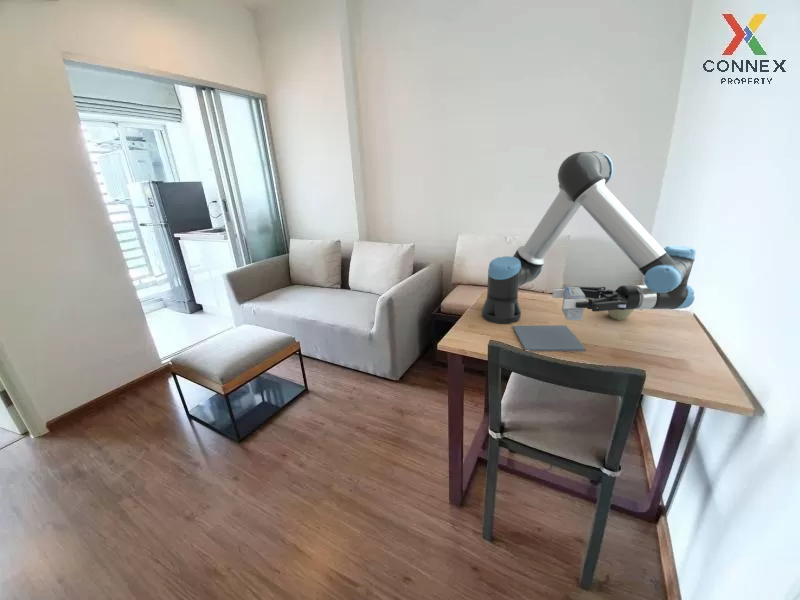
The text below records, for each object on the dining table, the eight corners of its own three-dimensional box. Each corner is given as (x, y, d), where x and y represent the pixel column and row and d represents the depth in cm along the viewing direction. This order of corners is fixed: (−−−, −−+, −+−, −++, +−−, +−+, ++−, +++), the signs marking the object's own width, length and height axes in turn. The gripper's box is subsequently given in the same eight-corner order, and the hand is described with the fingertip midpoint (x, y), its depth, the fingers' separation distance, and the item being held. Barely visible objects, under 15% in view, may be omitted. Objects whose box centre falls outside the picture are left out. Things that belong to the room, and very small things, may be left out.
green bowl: (600, 310, 134) (604, 294, 131) (629, 313, 130) (633, 296, 127) (604, 321, 125) (608, 303, 122) (635, 324, 121) (640, 306, 119)
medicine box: (582, 321, 102) (586, 295, 99) (566, 320, 104) (570, 294, 100) (575, 311, 110) (579, 286, 106) (561, 310, 111) (564, 286, 107)
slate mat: (525, 351, 108) (525, 349, 108) (513, 327, 124) (513, 325, 123) (585, 351, 106) (586, 349, 106) (565, 327, 122) (565, 325, 122)
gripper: (652, 322, 94) (569, 323, 96) (614, 296, 114) (546, 297, 116) (658, 298, 91) (573, 300, 94) (618, 275, 111) (548, 277, 113)
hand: (558, 298), depth 105 cm, fingers closed on medicine box, 8 cm apart
